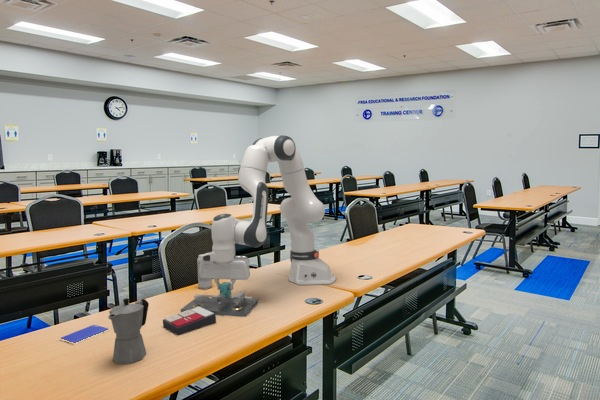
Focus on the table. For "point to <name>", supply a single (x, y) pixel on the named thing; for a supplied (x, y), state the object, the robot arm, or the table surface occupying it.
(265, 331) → the table surface
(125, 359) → the coffeepot
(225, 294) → the slider
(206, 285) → the energy drink can
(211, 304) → the hole plate
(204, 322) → the calculator
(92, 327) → the hard drive
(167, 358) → the table surface
